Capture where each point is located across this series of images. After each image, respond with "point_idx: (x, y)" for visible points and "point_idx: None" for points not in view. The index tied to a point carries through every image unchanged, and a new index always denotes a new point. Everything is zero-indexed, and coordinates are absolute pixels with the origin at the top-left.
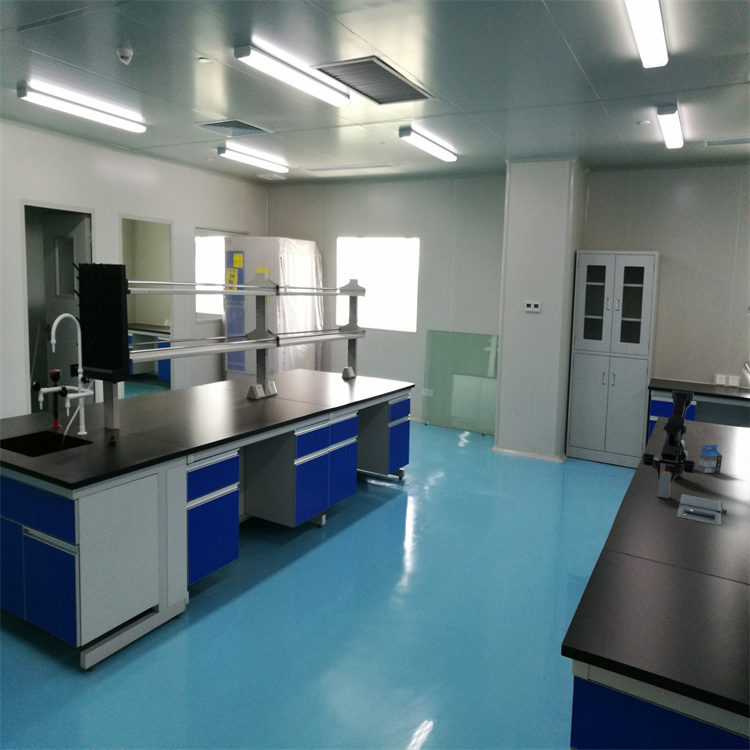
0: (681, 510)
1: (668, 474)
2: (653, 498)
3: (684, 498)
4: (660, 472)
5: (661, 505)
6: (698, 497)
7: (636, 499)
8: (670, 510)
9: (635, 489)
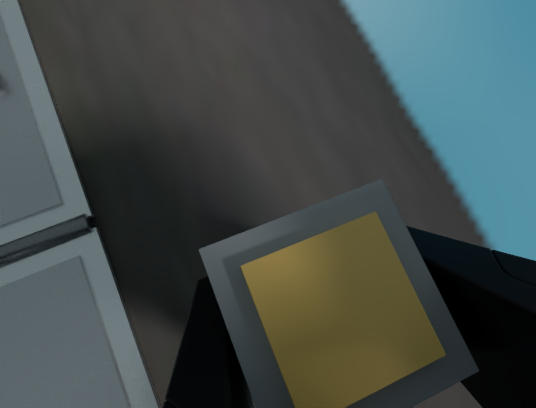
0: (19, 83)
1: (257, 254)
2: (297, 196)
3: None
4: (410, 236)
5: (182, 103)
6: None
7: (342, 73)
8: (95, 62)
9: None
